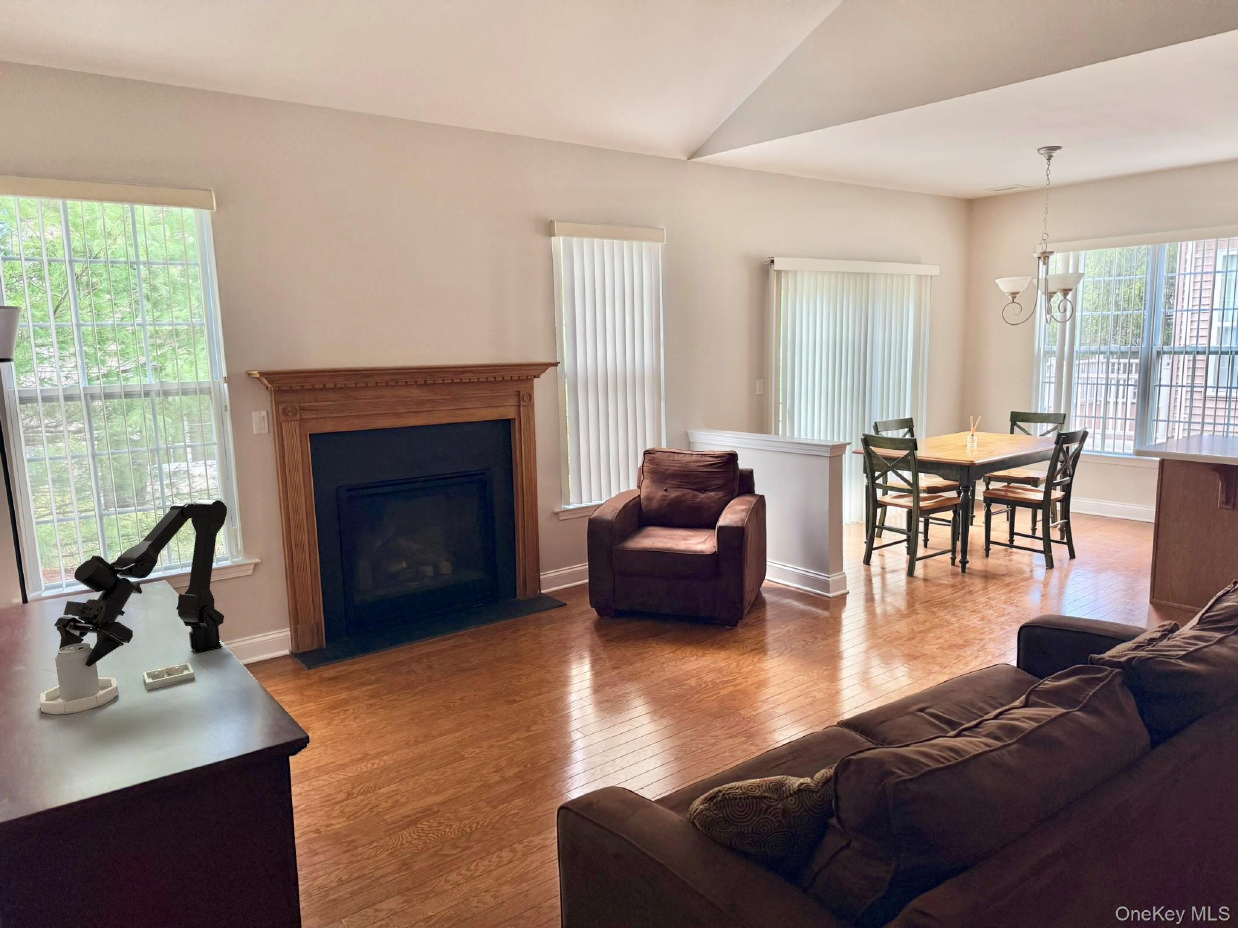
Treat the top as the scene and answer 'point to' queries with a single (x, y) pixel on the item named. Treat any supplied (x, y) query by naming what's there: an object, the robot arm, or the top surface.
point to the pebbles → (167, 672)
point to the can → (76, 672)
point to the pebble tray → (168, 677)
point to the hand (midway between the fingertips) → (72, 663)
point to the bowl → (56, 705)
